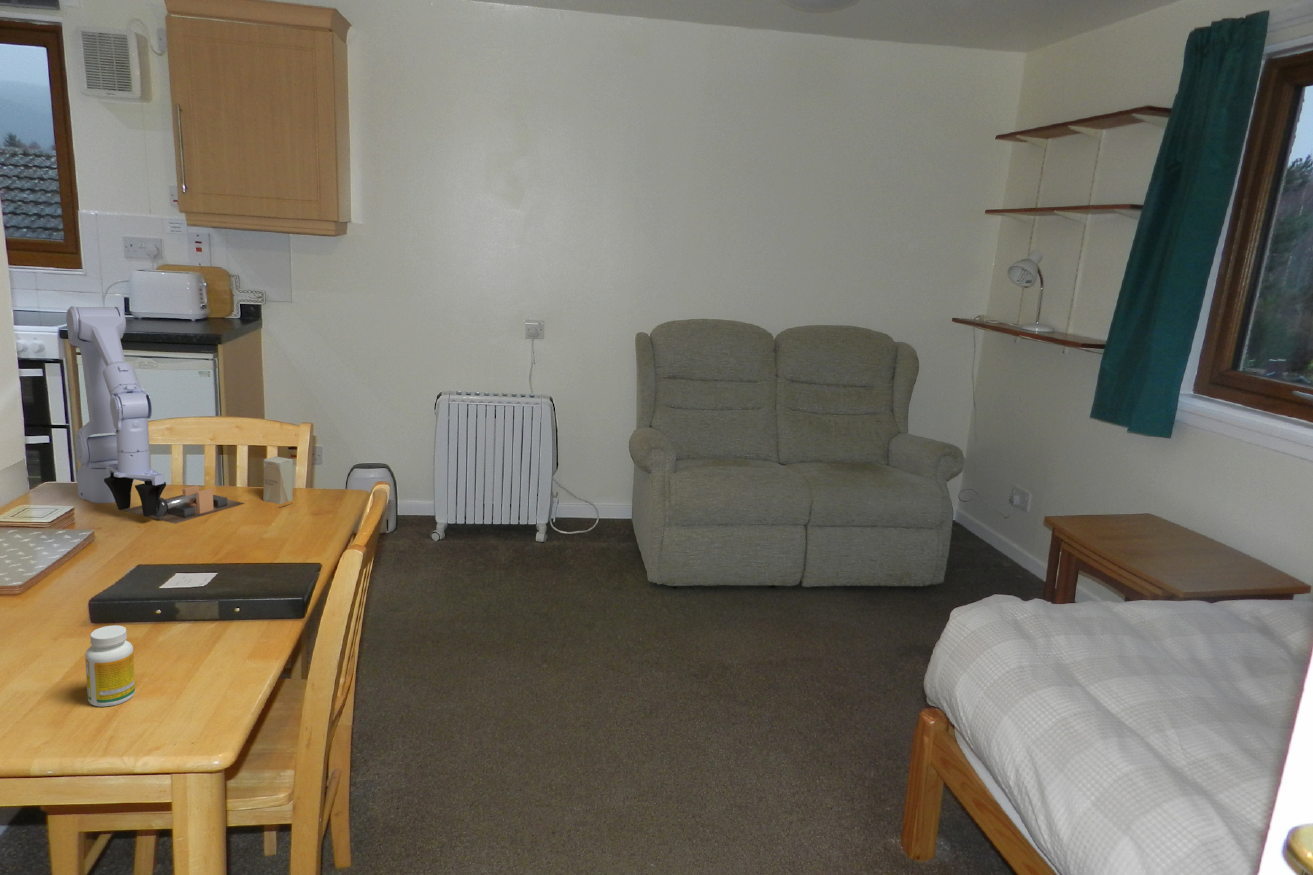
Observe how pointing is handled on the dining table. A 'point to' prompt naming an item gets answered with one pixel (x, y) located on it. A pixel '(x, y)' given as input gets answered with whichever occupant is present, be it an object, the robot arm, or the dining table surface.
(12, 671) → the dining table surface
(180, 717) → the dining table surface
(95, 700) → the supplement bottle
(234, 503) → the board
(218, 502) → the supports
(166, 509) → the shaft
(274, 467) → the box
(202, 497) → the bracket
